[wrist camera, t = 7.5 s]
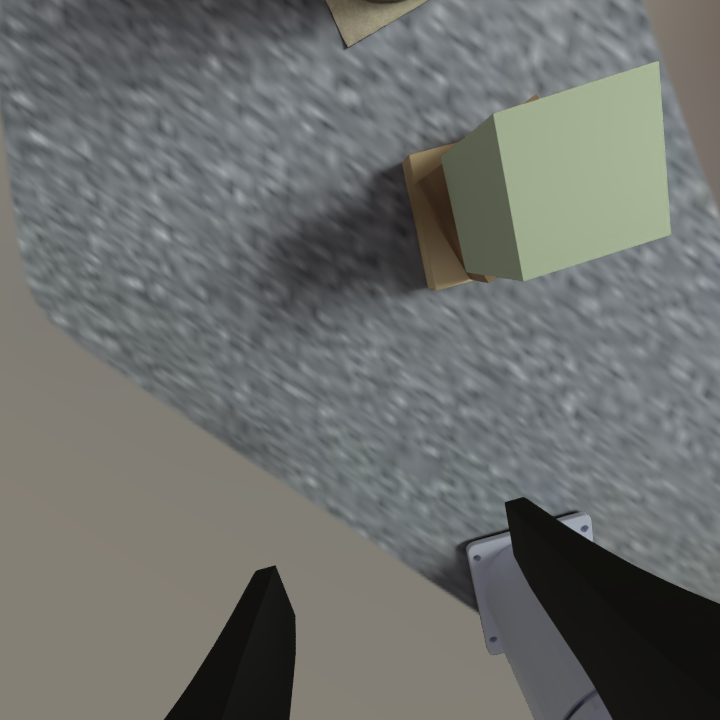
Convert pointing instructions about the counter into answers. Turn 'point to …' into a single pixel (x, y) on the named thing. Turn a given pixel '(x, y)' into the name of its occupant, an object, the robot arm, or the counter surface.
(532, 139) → the sage block
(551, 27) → the counter surface
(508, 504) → the robot arm
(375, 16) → the condiment
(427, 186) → the walnut slab
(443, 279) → the oak slab
